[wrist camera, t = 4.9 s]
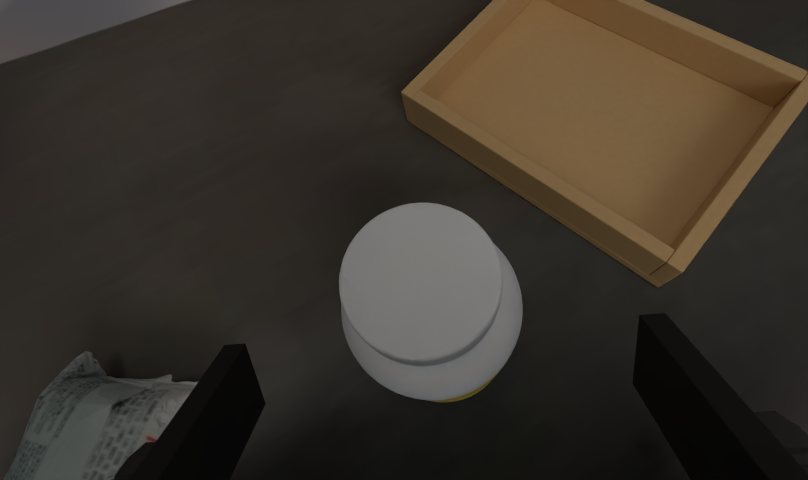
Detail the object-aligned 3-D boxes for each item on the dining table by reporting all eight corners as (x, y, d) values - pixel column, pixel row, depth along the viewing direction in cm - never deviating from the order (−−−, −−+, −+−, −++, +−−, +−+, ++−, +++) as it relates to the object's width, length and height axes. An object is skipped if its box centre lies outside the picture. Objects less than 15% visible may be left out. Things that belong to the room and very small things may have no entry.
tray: (406, 120, 28) (400, 91, 25) (532, -8, 31) (538, -46, 28) (657, 288, 22) (683, 272, 20) (787, 112, 25) (825, 78, 22)
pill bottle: (527, 318, 22) (582, 237, 12) (464, 430, 21) (461, 454, 10) (423, 258, 24) (389, 142, 14) (358, 356, 23) (263, 312, 12)
